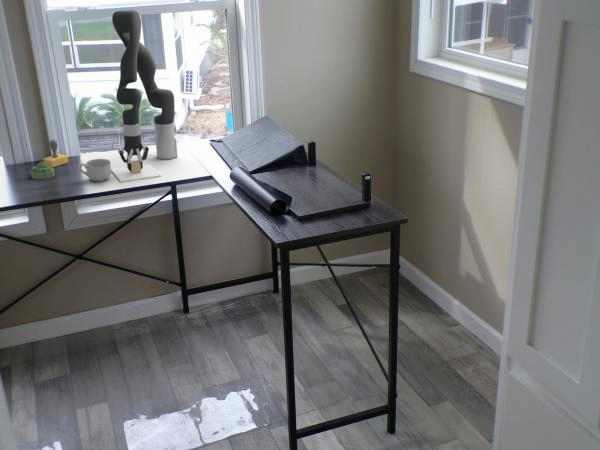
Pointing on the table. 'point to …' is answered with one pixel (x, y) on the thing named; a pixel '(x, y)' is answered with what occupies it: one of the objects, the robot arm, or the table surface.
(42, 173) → the decorative artifact
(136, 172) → the square lid with knob
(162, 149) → the robot arm
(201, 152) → the table surface
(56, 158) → the rubber stamp
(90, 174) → the teacup
